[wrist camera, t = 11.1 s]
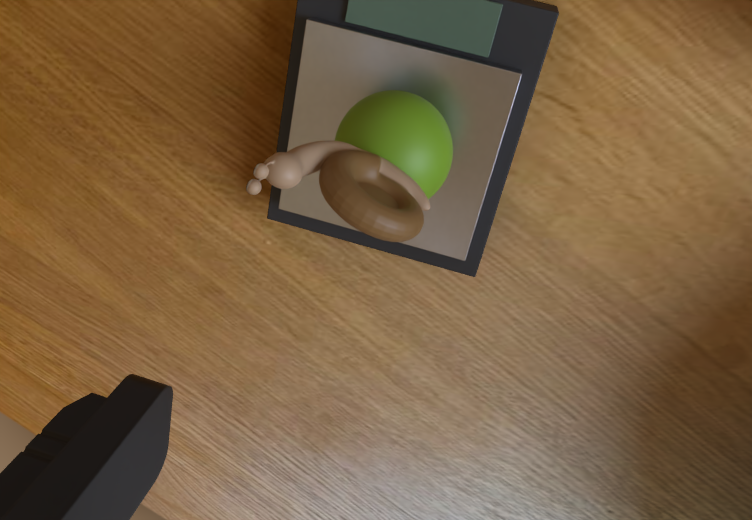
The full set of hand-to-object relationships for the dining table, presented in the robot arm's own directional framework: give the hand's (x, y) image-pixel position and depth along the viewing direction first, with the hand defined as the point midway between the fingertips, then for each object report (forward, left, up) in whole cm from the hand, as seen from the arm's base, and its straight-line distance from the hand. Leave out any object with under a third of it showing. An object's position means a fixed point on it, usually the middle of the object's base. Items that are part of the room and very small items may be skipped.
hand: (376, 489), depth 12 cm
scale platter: (+2, -4, -24) cm, 25 cm away
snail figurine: (+1, -4, -24) cm, 24 cm away
